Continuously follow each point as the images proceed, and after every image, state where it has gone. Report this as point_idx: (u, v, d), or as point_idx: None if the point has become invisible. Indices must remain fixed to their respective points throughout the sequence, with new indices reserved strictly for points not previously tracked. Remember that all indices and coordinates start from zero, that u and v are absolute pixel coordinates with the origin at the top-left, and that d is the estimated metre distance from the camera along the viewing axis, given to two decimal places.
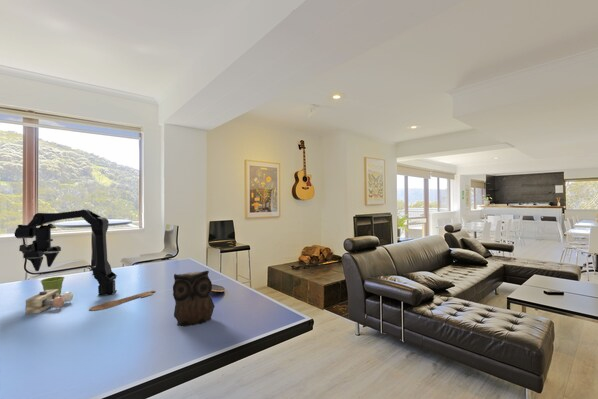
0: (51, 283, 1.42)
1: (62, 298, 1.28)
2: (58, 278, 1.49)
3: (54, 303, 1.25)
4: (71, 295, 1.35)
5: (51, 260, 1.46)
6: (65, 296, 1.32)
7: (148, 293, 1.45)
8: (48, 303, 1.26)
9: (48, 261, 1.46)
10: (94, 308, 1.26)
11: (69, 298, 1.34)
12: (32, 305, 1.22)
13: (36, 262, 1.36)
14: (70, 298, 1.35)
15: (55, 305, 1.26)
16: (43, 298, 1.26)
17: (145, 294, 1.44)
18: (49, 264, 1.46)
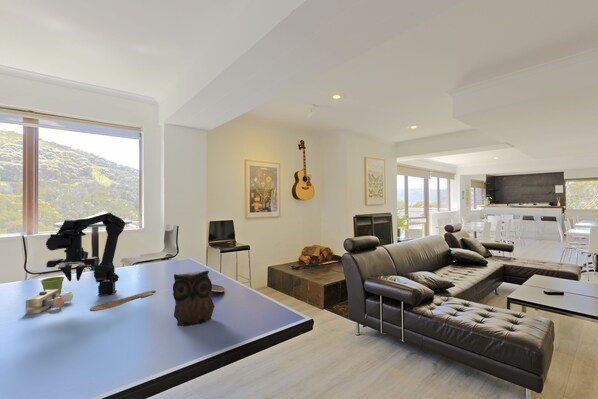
0: (51, 283, 1.42)
1: (62, 298, 1.28)
2: (58, 278, 1.49)
3: (54, 303, 1.25)
4: (71, 295, 1.35)
5: None
6: (65, 296, 1.32)
7: (148, 293, 1.46)
8: (48, 303, 1.26)
9: None
10: (95, 308, 1.26)
11: (69, 298, 1.34)
12: (32, 305, 1.22)
13: None
14: (70, 298, 1.35)
15: (55, 305, 1.26)
16: (43, 298, 1.26)
17: (145, 294, 1.44)
18: None
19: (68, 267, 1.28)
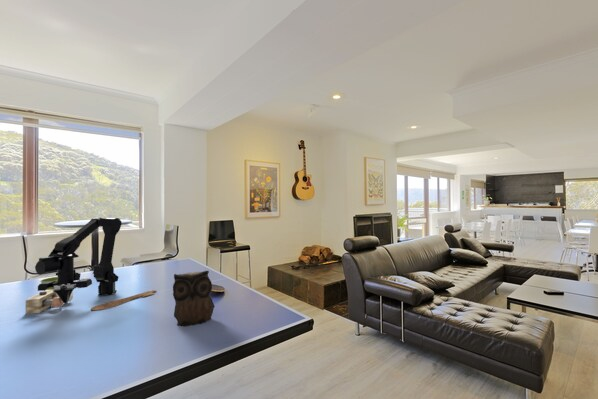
0: None
1: None
2: None
3: (53, 303, 1.25)
4: (71, 295, 1.35)
5: None
6: None
7: (149, 293, 1.46)
8: (47, 303, 1.26)
9: None
10: (96, 308, 1.26)
11: (69, 298, 1.34)
12: (32, 305, 1.22)
13: None
14: (70, 298, 1.35)
15: (54, 305, 1.26)
16: (43, 298, 1.26)
17: (146, 294, 1.44)
18: None
19: (63, 289, 1.28)
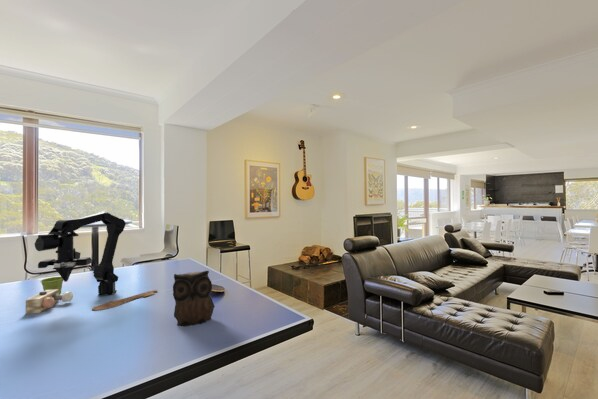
0: (51, 283, 1.42)
1: (52, 299, 1.27)
2: (58, 278, 1.49)
3: (43, 304, 1.24)
4: (71, 295, 1.35)
5: None
6: (65, 296, 1.32)
7: (150, 293, 1.46)
8: None
9: None
10: (97, 308, 1.26)
11: (69, 298, 1.34)
12: (32, 305, 1.22)
13: None
14: (70, 298, 1.35)
15: (44, 306, 1.25)
16: (43, 298, 1.26)
17: (147, 294, 1.44)
18: None
19: (63, 267, 1.29)
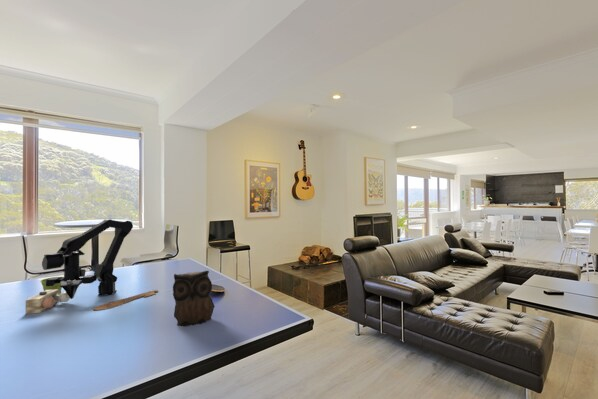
0: None
1: (52, 299, 1.27)
2: None
3: (43, 304, 1.24)
4: None
5: None
6: (62, 296, 1.32)
7: (151, 293, 1.46)
8: None
9: None
10: (98, 308, 1.26)
11: (66, 298, 1.33)
12: (32, 305, 1.22)
13: None
14: (67, 298, 1.34)
15: (44, 306, 1.25)
16: (43, 298, 1.26)
17: (148, 294, 1.44)
18: None
19: (69, 285, 1.34)
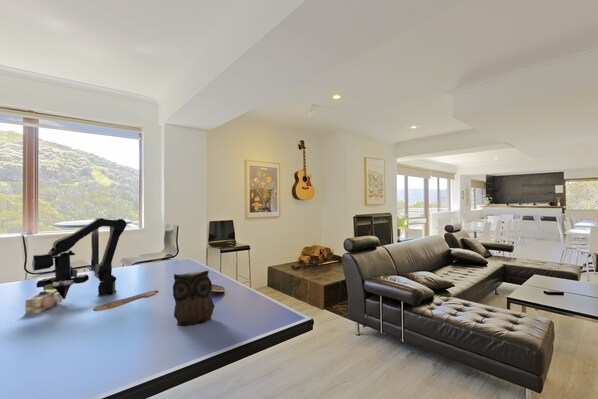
0: None
1: (52, 299, 1.27)
2: None
3: (43, 304, 1.24)
4: (61, 296, 1.34)
5: None
6: (55, 297, 1.31)
7: (151, 293, 1.46)
8: None
9: None
10: (99, 308, 1.26)
11: (59, 299, 1.33)
12: (32, 305, 1.22)
13: None
14: (60, 299, 1.34)
15: (44, 306, 1.25)
16: (43, 298, 1.26)
17: (148, 294, 1.44)
18: None
19: None
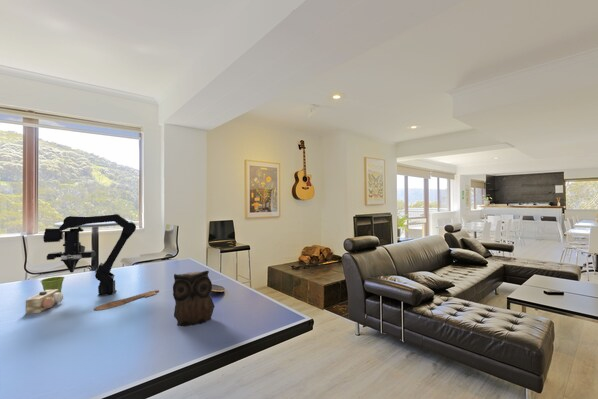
0: (51, 283, 1.42)
1: (52, 299, 1.27)
2: (58, 278, 1.49)
3: (43, 304, 1.24)
4: (61, 296, 1.34)
5: None
6: (55, 297, 1.32)
7: (152, 292, 1.46)
8: None
9: None
10: (99, 308, 1.26)
11: (59, 299, 1.33)
12: (32, 305, 1.22)
13: None
14: (60, 299, 1.34)
15: (44, 306, 1.25)
16: (43, 298, 1.26)
17: (149, 293, 1.44)
18: None
19: (70, 259, 1.40)
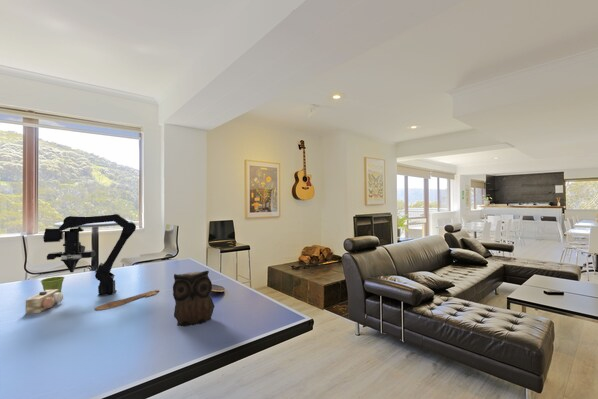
0: (51, 283, 1.42)
1: (52, 299, 1.27)
2: (58, 278, 1.49)
3: (43, 304, 1.24)
4: (61, 296, 1.34)
5: None
6: (55, 297, 1.32)
7: (152, 292, 1.46)
8: None
9: None
10: (100, 307, 1.26)
11: (59, 299, 1.33)
12: (32, 305, 1.22)
13: None
14: (60, 299, 1.34)
15: (44, 306, 1.25)
16: (43, 298, 1.26)
17: (149, 293, 1.44)
18: None
19: None
